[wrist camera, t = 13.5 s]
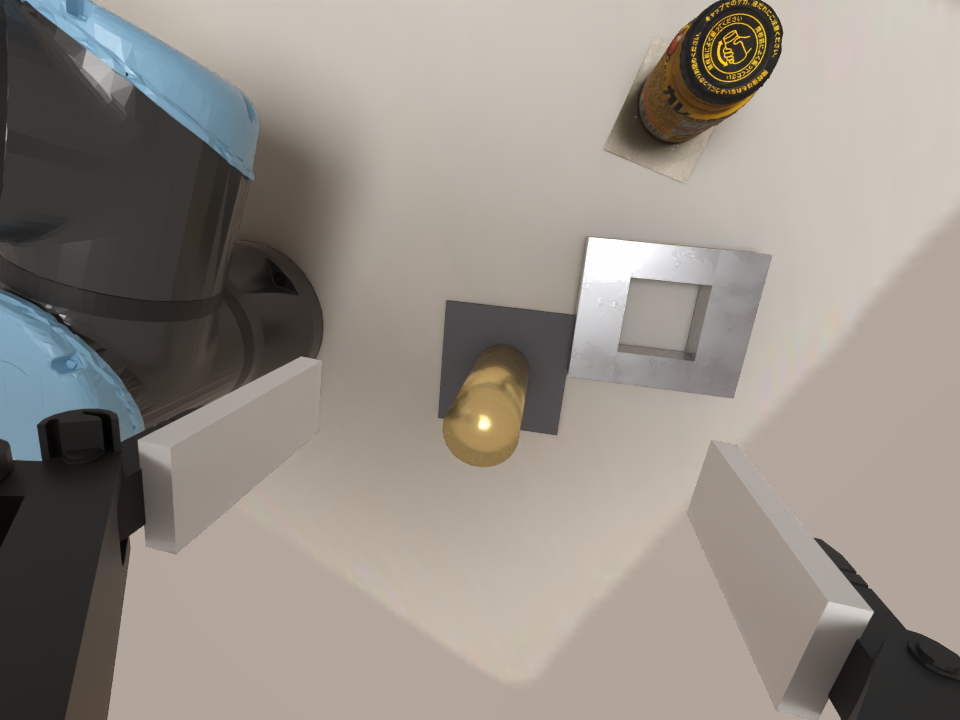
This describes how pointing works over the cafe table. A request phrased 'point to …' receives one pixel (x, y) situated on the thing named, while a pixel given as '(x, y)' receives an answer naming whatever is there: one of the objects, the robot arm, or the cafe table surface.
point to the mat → (523, 329)
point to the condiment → (696, 85)
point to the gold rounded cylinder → (489, 408)
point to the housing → (714, 329)
